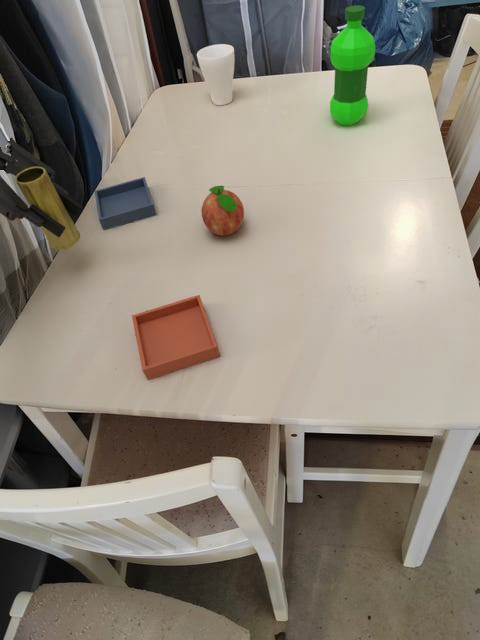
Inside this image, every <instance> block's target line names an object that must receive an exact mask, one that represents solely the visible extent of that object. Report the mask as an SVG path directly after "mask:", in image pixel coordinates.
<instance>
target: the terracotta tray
mask: <svg viewBox="0 0 480 640" xmlns="http://www.w3.org/2000/svg"><path fill="white" fill-rule="evenodd" d="M131 317H132V323H133V329H134V334H135V339H136V343H137V347H138V349H137V350H138V354H139V358H140V359H139V360H140V364H141V369H142V372H143V374H144V376H145V378H146V380H151V379H155V378H158V377H161V376H163V375H167V374H170V373H173V372H176V371H179V370H183V369H186V368H188V367H191V366H192V367H193V366H195V365H197V364H201V363H204V362H206V361H210V360H214V359H216V358H219V357H221V354H220V351H219V347H218V343H217V341H216V338H215V335H214V332H213V330H212V327H211V324H210V320H209V317H208V315H207V312H206V310H205V307H204V304H203V301H202V297H201V295H200V294H197V295H193V296H190V297H187V298H184V299H180V300H178V301H174V302H171V303H168V304H164V305H161V306H158V307H155V308H151V309H148V310H145V311H142V312H138V313H136V314H132V315H131Z"/></svg>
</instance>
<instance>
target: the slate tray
mask: <svg viewBox="0 0 480 640" xmlns="http://www.w3.org/2000/svg"><path fill="white" fill-rule="evenodd" d="M94 198H95V204H96V212H97V217H98V221H99V224H100V226H101V228H102V230H103V231H106V230H109V229H112V228H115V227H120V226H122V225H126V224H129V223H134V222H137V221H140V220H144V219H147V218H150V217H151V218H152V217H154V216H157V211H156V208H155V205H154V201H153V199H152V196H151V192H150V189H149V186H148V183H147V180H146V177H145V176H143V177H140V178H135V179H132V180H128V181H124V182H121V183H118V184H114V185H110V186H107V187H103V188H100V189H96V190H94Z"/></svg>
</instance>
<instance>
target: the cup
mask: <svg viewBox="0 0 480 640" xmlns="http://www.w3.org/2000/svg"><path fill="white" fill-rule="evenodd" d="M196 58H197V62H198V65H199V69H200V72H201V74H202V77H203V79H204V81H205V84H206V86H207V89H208V91H209V94H210V98H211V102H212V104H213V105H215V106H227V105H228V104H230V103H232V101H233V84H234V83H233V82H234V74H235V61H236V60H235V59H236V58H235V48H234V46H232V45H230V44H227V43H226V44H225V43H219V44H212V45H207V46H205V47H203V48H201V49H199V50H198V51H197V52H196Z"/></svg>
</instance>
